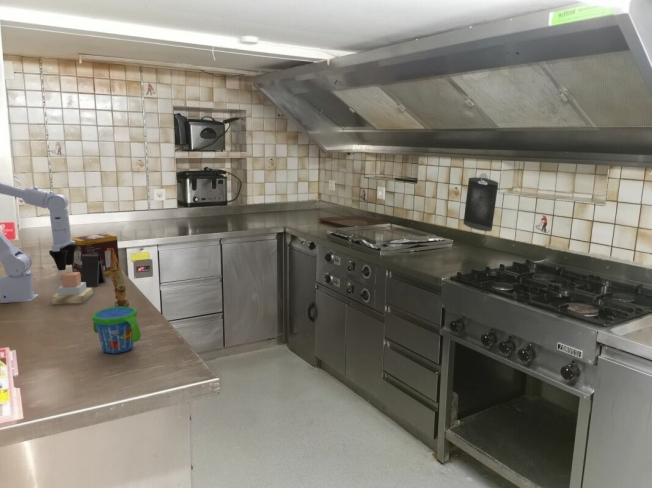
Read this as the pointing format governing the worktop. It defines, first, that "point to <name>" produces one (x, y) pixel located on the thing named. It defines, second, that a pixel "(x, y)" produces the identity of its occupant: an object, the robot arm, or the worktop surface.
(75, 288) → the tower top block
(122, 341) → the snack cup
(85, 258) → the phone stand
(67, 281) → the terracotta block
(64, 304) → the rubber mat
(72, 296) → the oak slab
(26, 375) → the worktop surface
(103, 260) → the supplement box
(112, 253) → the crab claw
